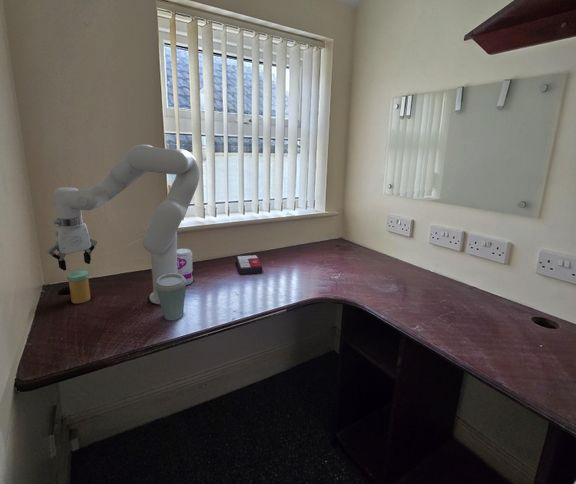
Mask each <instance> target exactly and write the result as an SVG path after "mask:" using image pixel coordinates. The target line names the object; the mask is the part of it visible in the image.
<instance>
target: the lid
mask: <svg viewBox="0 0 576 484" xmlns="http://www.w3.org/2000/svg"><path fill="white" fill-rule="evenodd" d="M89 276H90V274H89V271H87V270H74V271H72V272H69V273H67V275H66V279H67V281H68V282H69V281H72V282H75V281H81V280H84V279H87V278H88V279H89Z"/></svg>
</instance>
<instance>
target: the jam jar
mask: <svg viewBox="0 0 576 484" xmlns="http://www.w3.org/2000/svg"><path fill="white" fill-rule="evenodd" d="M68 287H69V295H70V301H71V303H72V304H83V303H86V302H88V301H90V300H91V299H92V298H91V297H92V296H91V289H90V280H89V277H88V278H87V279H84V280H81V281H75V282H72V281H68Z"/></svg>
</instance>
